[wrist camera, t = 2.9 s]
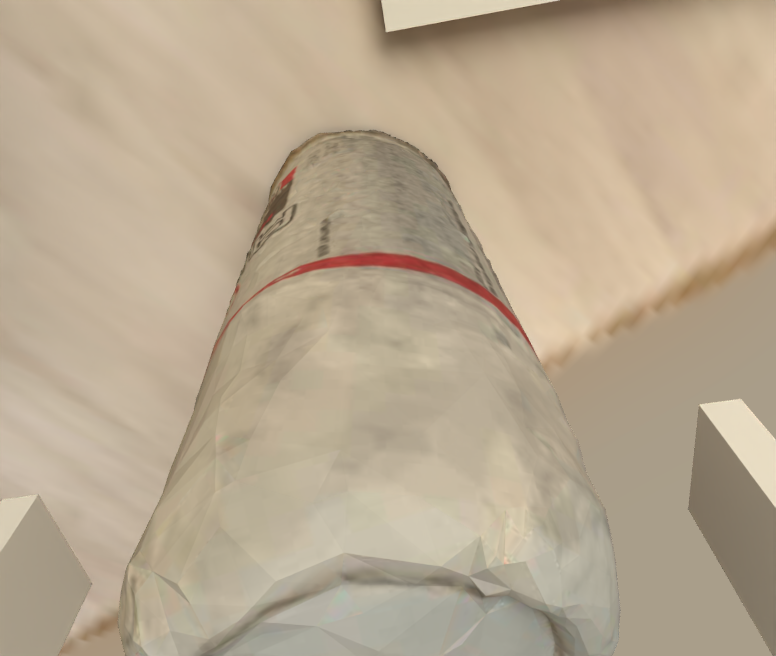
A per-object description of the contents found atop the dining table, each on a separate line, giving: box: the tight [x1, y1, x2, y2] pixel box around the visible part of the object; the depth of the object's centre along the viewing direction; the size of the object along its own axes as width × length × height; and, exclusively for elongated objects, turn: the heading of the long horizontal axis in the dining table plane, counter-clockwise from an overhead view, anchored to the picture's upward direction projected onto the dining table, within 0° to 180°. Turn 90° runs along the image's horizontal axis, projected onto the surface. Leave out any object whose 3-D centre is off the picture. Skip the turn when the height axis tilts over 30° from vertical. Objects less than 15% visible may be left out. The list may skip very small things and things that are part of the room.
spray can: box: [118, 130, 620, 656], centre depth 17 cm, size 8×8×20 cm
